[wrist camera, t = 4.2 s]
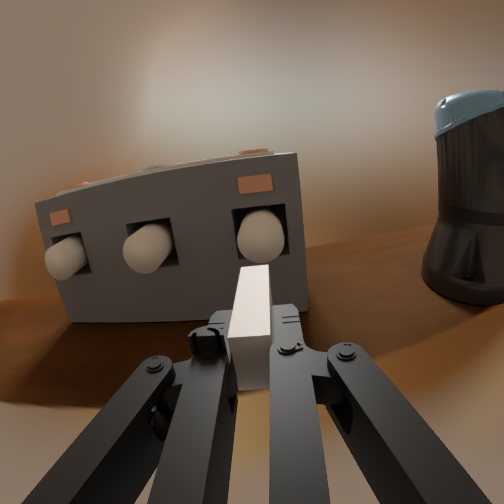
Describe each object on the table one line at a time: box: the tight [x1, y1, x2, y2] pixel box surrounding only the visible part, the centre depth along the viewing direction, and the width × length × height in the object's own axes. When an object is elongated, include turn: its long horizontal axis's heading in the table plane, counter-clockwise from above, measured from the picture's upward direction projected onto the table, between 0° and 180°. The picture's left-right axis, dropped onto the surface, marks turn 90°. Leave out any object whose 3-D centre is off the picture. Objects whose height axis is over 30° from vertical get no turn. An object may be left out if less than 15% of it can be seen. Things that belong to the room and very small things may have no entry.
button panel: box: [35, 149, 308, 322], centre depth 33 cm, size 30×9×17 cm, turn 87°
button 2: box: [237, 206, 284, 263], centre depth 28 cm, size 4×6×4 cm
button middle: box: [123, 219, 176, 274], centre depth 29 cm, size 4×6×4 cm
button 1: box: [45, 232, 89, 281], centre depth 30 cm, size 4×6×4 cm
